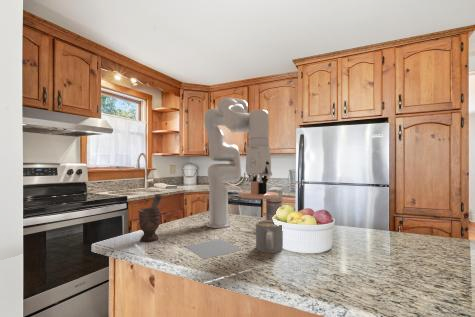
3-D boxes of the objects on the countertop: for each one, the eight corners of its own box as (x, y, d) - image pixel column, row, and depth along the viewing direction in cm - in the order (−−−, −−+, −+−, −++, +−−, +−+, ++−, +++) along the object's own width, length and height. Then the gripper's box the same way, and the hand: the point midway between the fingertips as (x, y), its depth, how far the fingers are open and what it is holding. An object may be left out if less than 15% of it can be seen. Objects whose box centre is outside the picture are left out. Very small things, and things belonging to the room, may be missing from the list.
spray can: (283, 229, 127) (283, 188, 128) (266, 229, 128) (267, 188, 128) (281, 224, 136) (281, 186, 136) (265, 224, 136) (265, 186, 136)
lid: (230, 195, 99) (230, 180, 99) (261, 192, 107) (261, 179, 107) (254, 200, 86) (254, 183, 86) (287, 197, 94) (287, 181, 95)
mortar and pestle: (170, 240, 109) (171, 192, 109) (157, 246, 101) (157, 194, 101) (148, 237, 113) (148, 191, 113) (133, 242, 105) (134, 193, 105)
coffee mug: (259, 244, 104) (259, 219, 104) (284, 247, 101) (284, 221, 101) (250, 255, 92) (250, 227, 92) (278, 259, 88) (278, 229, 88)
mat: (184, 247, 100) (184, 245, 100) (220, 240, 109) (220, 238, 109) (203, 260, 87) (203, 258, 87) (242, 251, 96) (242, 249, 96)
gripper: (237, 144, 102) (237, 191, 102) (265, 141, 88) (265, 196, 88) (253, 145, 106) (253, 190, 106) (281, 142, 92) (281, 194, 92)
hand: (258, 192), depth 97 cm, fingers closed on lid, 4 cm apart
